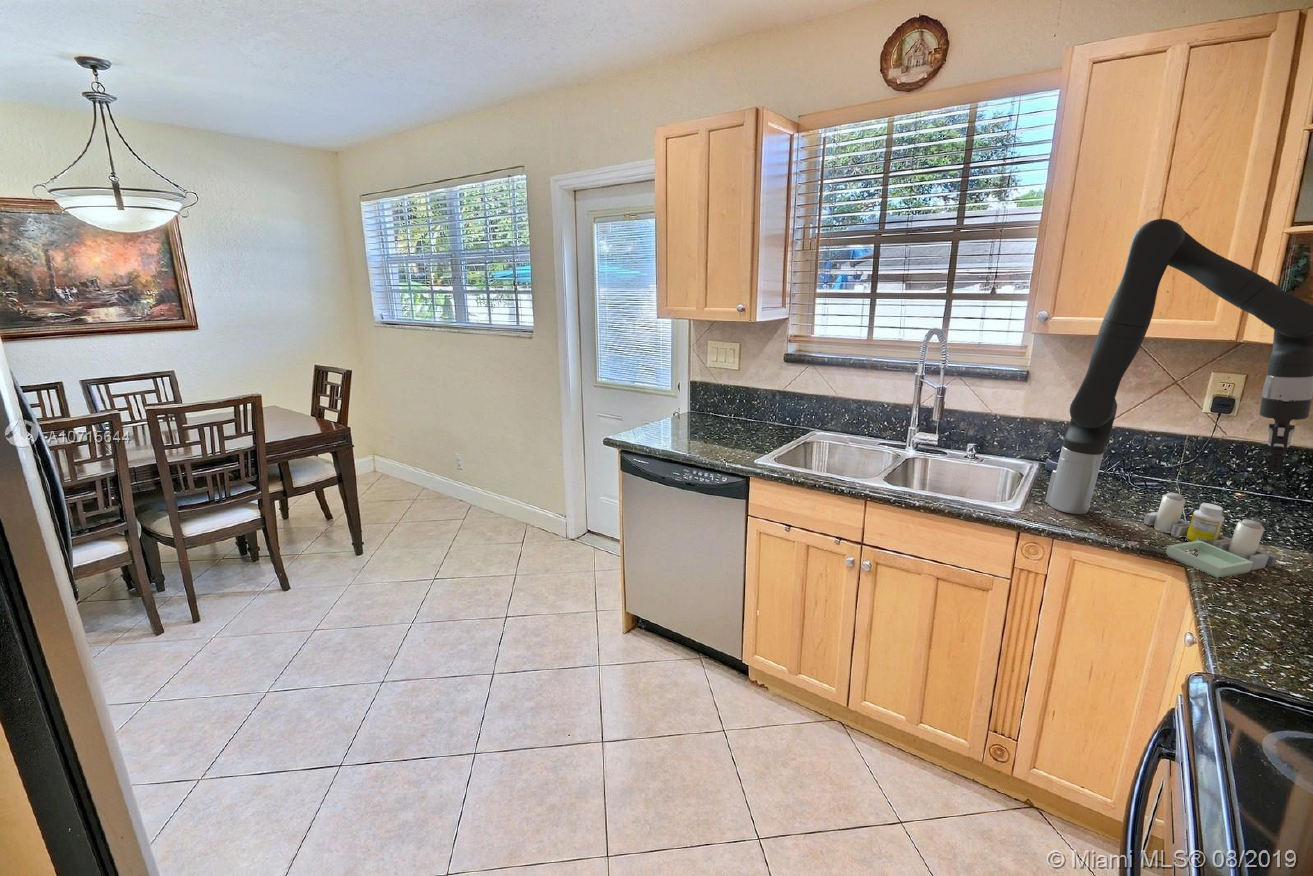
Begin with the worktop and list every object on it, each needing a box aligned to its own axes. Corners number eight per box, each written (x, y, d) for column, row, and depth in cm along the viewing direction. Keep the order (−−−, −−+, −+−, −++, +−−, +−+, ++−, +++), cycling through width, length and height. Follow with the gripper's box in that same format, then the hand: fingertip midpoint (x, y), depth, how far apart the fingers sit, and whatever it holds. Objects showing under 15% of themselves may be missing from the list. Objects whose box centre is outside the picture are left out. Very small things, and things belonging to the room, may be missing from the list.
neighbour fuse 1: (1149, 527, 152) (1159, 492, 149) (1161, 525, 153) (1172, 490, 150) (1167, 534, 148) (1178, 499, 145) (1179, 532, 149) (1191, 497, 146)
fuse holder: (1142, 524, 154) (1145, 513, 153) (1161, 520, 156) (1165, 510, 155) (1253, 570, 132) (1257, 558, 131) (1274, 566, 134) (1278, 554, 133)
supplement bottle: (1198, 538, 146) (1211, 501, 143) (1220, 549, 141) (1234, 511, 138) (1178, 539, 146) (1190, 501, 142) (1200, 550, 140) (1213, 511, 137)
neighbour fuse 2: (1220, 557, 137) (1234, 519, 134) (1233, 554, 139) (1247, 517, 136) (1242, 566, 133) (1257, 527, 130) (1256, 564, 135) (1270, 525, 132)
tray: (1164, 555, 138) (1167, 545, 137) (1196, 549, 141) (1199, 540, 140) (1216, 578, 128) (1220, 568, 127) (1249, 572, 131) (1253, 562, 130)
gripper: (1263, 390, 136) (1253, 457, 140) (1260, 400, 127) (1249, 471, 130) (1311, 391, 131) (1299, 461, 134) (1312, 402, 121) (1299, 477, 125)
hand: (1275, 466), depth 132 cm, fingers open, 8 cm apart
